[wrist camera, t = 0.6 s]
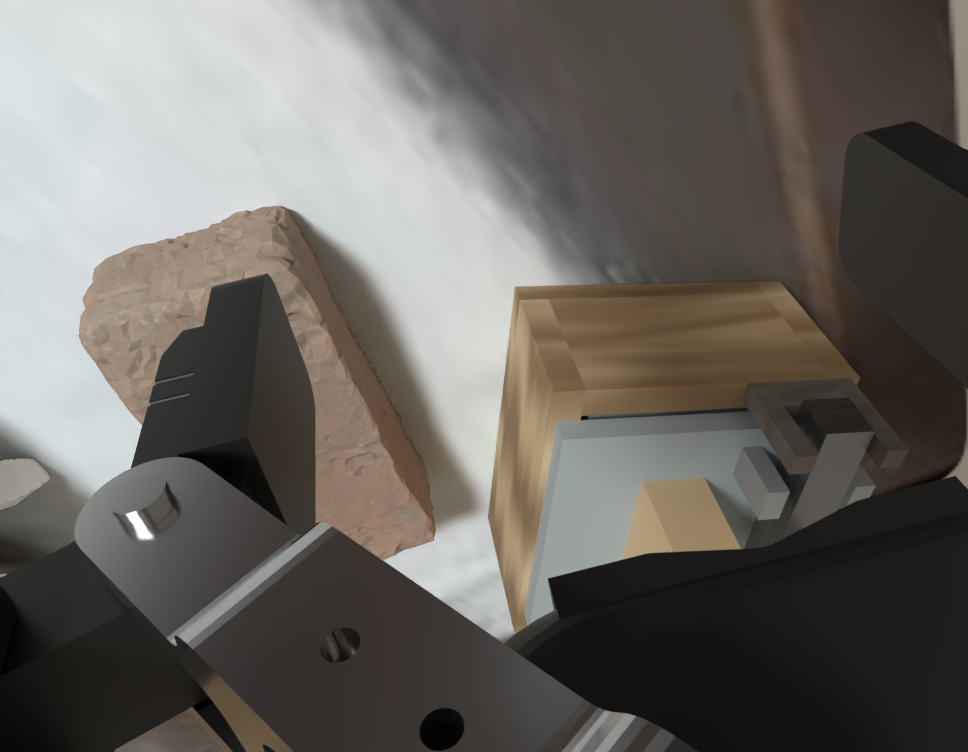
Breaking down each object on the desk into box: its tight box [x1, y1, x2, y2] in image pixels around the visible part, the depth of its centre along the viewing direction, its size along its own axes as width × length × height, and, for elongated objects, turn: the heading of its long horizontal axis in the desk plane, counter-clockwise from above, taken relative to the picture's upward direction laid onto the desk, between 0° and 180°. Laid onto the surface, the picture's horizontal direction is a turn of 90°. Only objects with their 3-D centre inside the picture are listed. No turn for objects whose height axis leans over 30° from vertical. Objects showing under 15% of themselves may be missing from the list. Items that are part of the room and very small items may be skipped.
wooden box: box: [488, 281, 909, 632], centre depth 36 cm, size 14×12×11 cm
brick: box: [79, 206, 436, 560], centre depth 35 cm, size 17×8×5 cm, turn 17°
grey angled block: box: [744, 398, 875, 549], centre depth 30 cm, size 8×2×6 cm, turn 175°
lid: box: [524, 408, 876, 626], centre depth 34 cm, size 11×11×6 cm
